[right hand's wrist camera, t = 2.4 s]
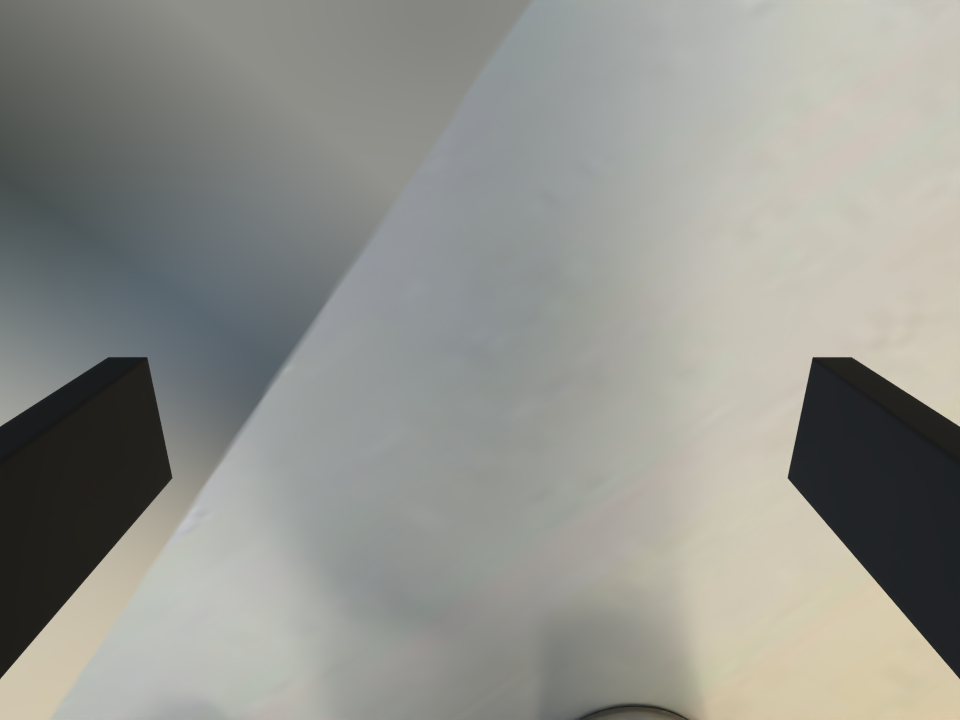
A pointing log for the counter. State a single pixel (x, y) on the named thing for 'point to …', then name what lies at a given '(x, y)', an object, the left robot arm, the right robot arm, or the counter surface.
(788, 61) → the counter surface
